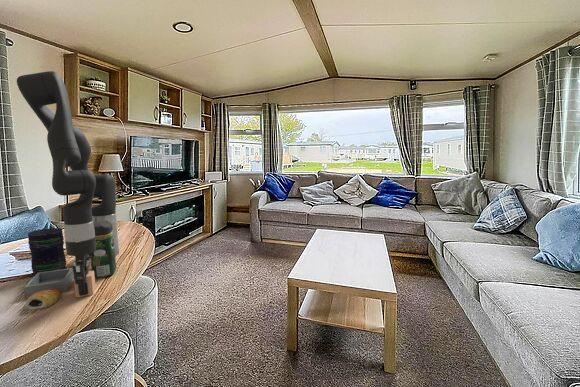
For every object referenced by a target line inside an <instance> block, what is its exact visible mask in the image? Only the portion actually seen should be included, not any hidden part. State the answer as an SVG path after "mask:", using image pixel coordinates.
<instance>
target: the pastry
mask: <svg viewBox="0 0 580 387" xmlns="http://www.w3.org/2000/svg"><path fill="white" fill-rule="evenodd" d="M61 294H62V292H61V291H60V290H59V289H48V290H43V291H39V292H37V293H34V294H33V295H31V296H30V297H27V300H26V301H25V303H24V304H23V307H24V309H26V310H29V311H31V310H39V309H46V308H49V307H51V306H53V305H54V304H55V303H57V302H58V301H59V299H60V297H61Z"/></svg>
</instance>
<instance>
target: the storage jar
mask: <svg viewBox="0 0 580 387" xmlns="http://www.w3.org/2000/svg"><path fill="white" fill-rule="evenodd" d="M63 233H64V232H63V229H62V228H59V227H50V228H48V227H47V228H42V229H36V230H33V231H30V232H28V233H27V237H28V238H27V239H28V246H29V250H30V255H31V270H32V271H31V272H32V276H33V277H34V276H35V275H36V274H37V273H38V272H46V271H54V270H62V269H68V268H67V259H66V254H65V249H64V244H65V237H64V234H63Z"/></svg>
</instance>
